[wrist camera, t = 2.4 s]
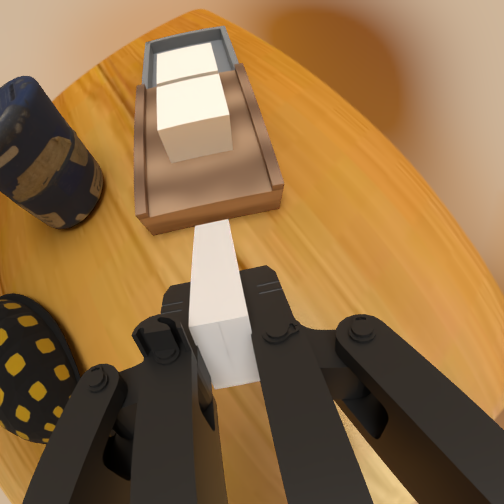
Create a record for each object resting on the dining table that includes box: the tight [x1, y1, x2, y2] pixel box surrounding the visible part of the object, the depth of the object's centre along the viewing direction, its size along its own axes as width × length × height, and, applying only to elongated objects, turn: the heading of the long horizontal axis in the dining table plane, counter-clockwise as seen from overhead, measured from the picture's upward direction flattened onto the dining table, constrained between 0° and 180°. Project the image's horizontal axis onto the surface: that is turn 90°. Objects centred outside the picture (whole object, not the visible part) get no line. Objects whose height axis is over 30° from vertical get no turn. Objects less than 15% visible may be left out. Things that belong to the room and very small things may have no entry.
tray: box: [142, 26, 239, 89], centre depth 34 cm, size 15×13×3 cm
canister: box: [0, 76, 103, 229], centre depth 21 cm, size 10×10×18 cm
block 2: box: [157, 74, 233, 163], centre depth 25 cm, size 6×6×5 cm
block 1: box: [157, 43, 218, 87], centre depth 26 cm, size 6×6×5 cm
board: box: [134, 63, 284, 235], centre depth 29 cm, size 18×13×5 cm
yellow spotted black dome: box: [0, 293, 80, 444], centre depth 19 cm, size 16×9×20 cm
